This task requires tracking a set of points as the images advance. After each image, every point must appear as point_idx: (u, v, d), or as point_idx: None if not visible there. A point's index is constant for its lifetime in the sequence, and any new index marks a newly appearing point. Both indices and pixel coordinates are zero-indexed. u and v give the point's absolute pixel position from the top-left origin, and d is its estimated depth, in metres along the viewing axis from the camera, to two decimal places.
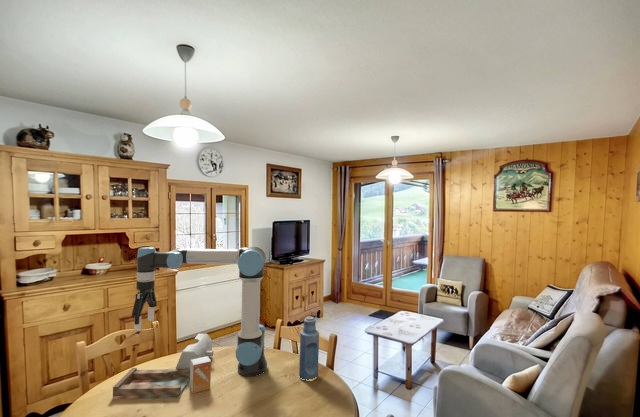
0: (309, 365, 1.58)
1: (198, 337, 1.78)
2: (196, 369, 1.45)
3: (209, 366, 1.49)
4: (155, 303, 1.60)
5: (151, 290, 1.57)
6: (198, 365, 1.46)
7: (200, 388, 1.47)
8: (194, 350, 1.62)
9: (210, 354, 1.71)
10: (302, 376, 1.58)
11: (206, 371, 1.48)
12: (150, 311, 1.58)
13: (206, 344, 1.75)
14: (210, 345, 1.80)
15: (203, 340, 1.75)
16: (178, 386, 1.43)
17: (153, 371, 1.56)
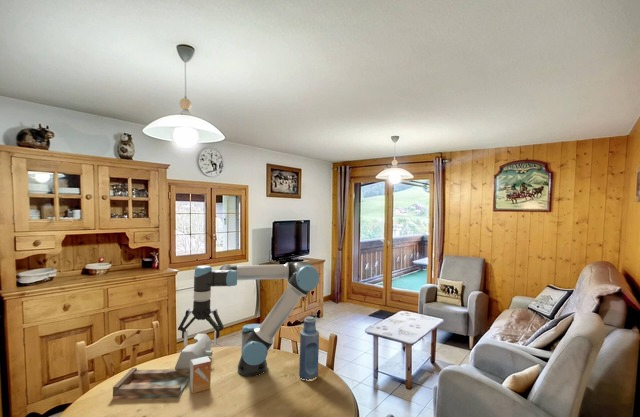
0: (309, 365, 1.58)
1: (197, 337, 1.77)
2: (196, 369, 1.45)
3: (209, 366, 1.49)
4: (220, 329, 1.49)
5: None
6: (198, 365, 1.46)
7: (200, 388, 1.47)
8: (193, 350, 1.62)
9: (209, 354, 1.71)
10: (302, 376, 1.58)
11: (206, 372, 1.48)
12: None
13: (205, 344, 1.75)
14: (209, 345, 1.80)
15: (202, 340, 1.75)
16: (178, 386, 1.43)
17: (153, 371, 1.56)
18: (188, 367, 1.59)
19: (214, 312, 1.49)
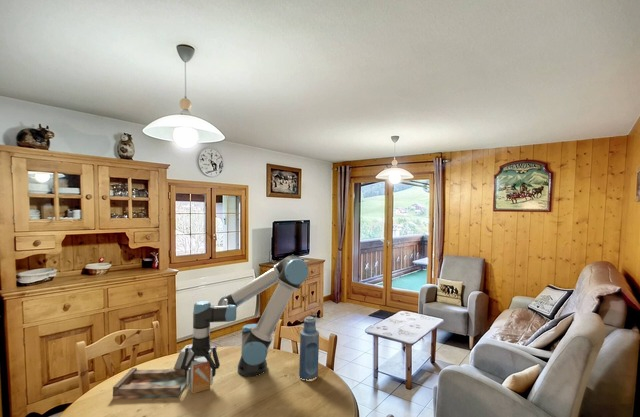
0: (309, 365, 1.58)
1: None
2: (195, 369, 1.45)
3: (209, 366, 1.49)
4: (216, 367, 1.49)
5: (212, 349, 1.50)
6: (198, 365, 1.46)
7: (200, 388, 1.47)
8: None
9: None
10: (302, 376, 1.58)
11: (206, 371, 1.48)
12: None
13: None
14: None
15: None
16: (178, 386, 1.43)
17: (153, 371, 1.56)
18: None
19: (213, 349, 1.49)
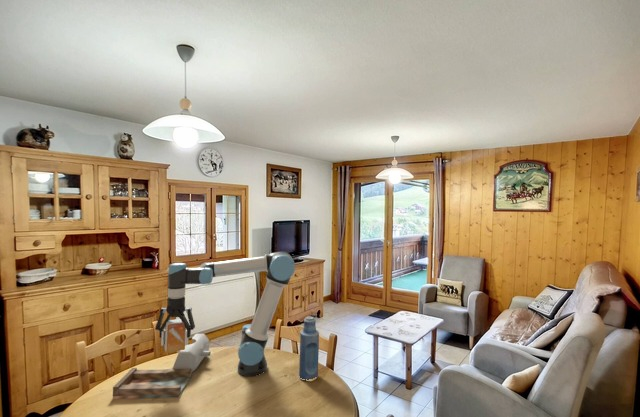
0: (309, 365, 1.58)
1: (195, 337, 1.77)
2: (170, 329, 1.46)
3: (184, 327, 1.49)
4: (190, 328, 1.50)
5: (187, 311, 1.50)
6: (172, 325, 1.46)
7: (174, 348, 1.47)
8: (191, 350, 1.62)
9: (207, 354, 1.71)
10: (302, 376, 1.58)
11: (181, 332, 1.49)
12: None
13: (203, 344, 1.75)
14: (207, 345, 1.80)
15: (200, 340, 1.75)
16: (178, 386, 1.43)
17: (153, 371, 1.56)
18: (186, 367, 1.59)
19: (188, 310, 1.50)
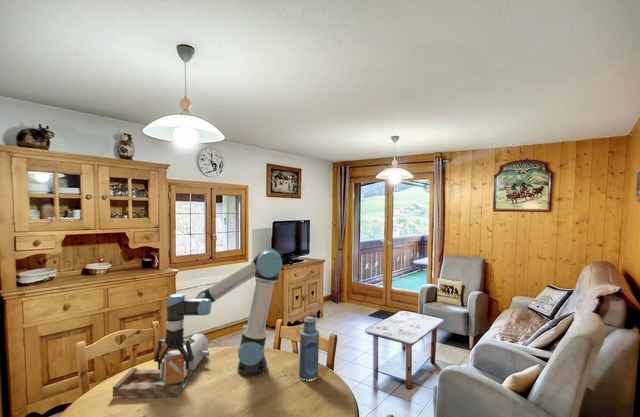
0: (309, 365, 1.58)
1: (194, 337, 1.77)
2: (168, 361, 1.46)
3: (182, 359, 1.49)
4: (189, 360, 1.50)
5: None
6: (171, 358, 1.46)
7: (173, 380, 1.47)
8: None
9: (206, 354, 1.71)
10: (302, 376, 1.58)
11: (179, 364, 1.48)
12: None
13: (202, 344, 1.74)
14: (206, 345, 1.80)
15: (199, 340, 1.75)
16: (178, 386, 1.43)
17: (153, 371, 1.56)
18: None
19: (187, 342, 1.49)
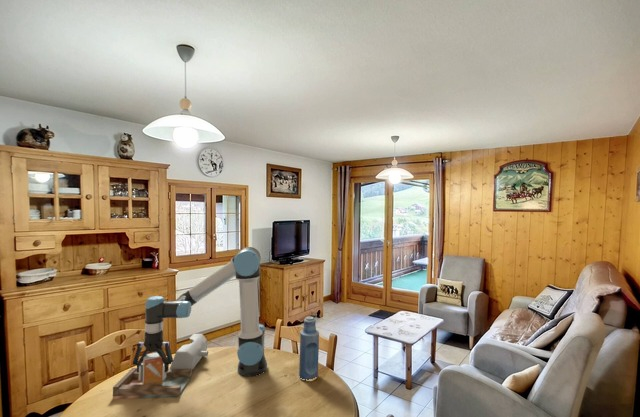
0: (309, 365, 1.58)
1: (193, 337, 1.77)
2: (147, 364, 1.45)
3: (161, 361, 1.48)
4: (168, 362, 1.49)
5: None
6: (149, 360, 1.46)
7: (151, 383, 1.46)
8: (188, 350, 1.62)
9: (205, 354, 1.70)
10: (302, 376, 1.58)
11: (158, 367, 1.48)
12: None
13: (201, 344, 1.74)
14: (205, 345, 1.80)
15: (198, 340, 1.75)
16: (178, 386, 1.43)
17: None
18: (183, 367, 1.59)
19: (166, 345, 1.49)
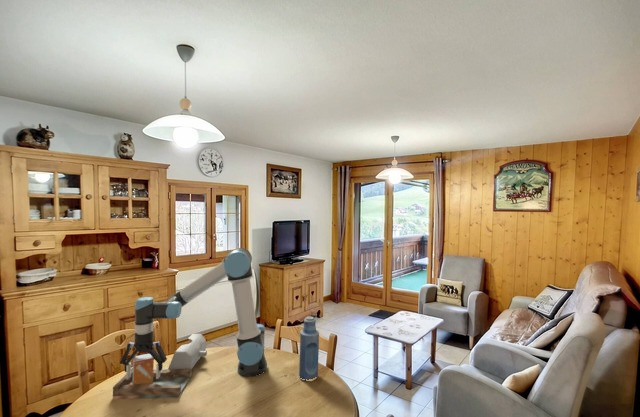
0: (309, 365, 1.58)
1: (192, 337, 1.77)
2: (136, 365, 1.45)
3: (151, 363, 1.48)
4: (162, 361, 1.48)
5: (155, 345, 1.49)
6: (139, 362, 1.45)
7: None
8: (187, 350, 1.62)
9: (203, 354, 1.70)
10: (302, 376, 1.58)
11: (148, 368, 1.47)
12: None
13: (199, 344, 1.74)
14: (204, 345, 1.80)
15: (196, 340, 1.75)
16: (178, 386, 1.43)
17: (153, 371, 1.56)
18: (182, 367, 1.59)
19: (156, 344, 1.48)
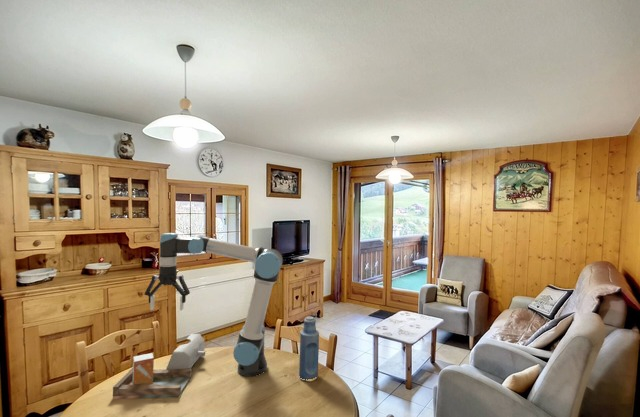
0: (309, 365, 1.58)
1: (190, 337, 1.77)
2: (136, 365, 1.45)
3: (151, 363, 1.48)
4: (185, 294, 1.54)
5: None
6: (139, 362, 1.45)
7: None
8: (185, 350, 1.62)
9: (202, 354, 1.70)
10: (302, 376, 1.58)
11: (148, 368, 1.47)
12: None
13: (198, 344, 1.74)
14: (202, 345, 1.80)
15: (195, 340, 1.75)
16: (178, 386, 1.43)
17: (153, 371, 1.56)
18: (180, 367, 1.59)
19: (180, 277, 1.54)
